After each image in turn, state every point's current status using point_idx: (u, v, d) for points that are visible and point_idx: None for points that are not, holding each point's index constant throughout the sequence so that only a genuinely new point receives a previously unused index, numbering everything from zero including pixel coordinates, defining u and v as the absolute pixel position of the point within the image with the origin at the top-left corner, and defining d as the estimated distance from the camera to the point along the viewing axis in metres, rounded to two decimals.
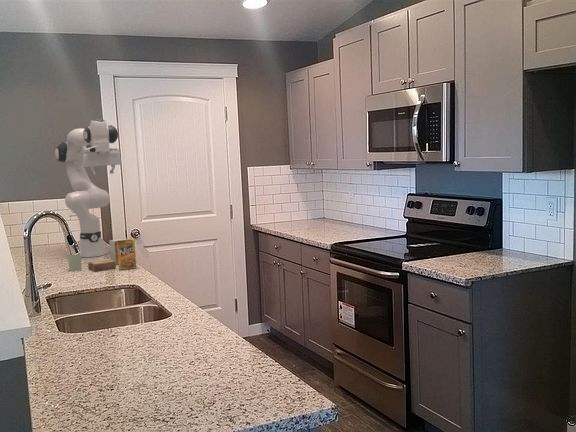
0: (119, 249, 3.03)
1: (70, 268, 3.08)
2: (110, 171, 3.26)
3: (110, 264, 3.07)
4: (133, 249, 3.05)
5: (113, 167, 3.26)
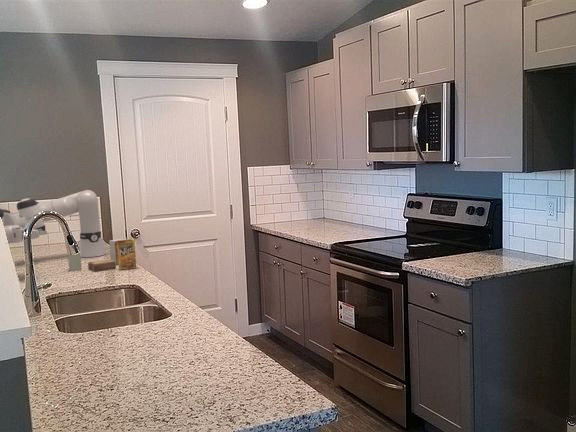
0: (119, 249, 3.03)
1: (70, 268, 3.08)
2: (39, 231, 3.03)
3: (110, 264, 3.07)
4: (133, 249, 3.05)
5: (34, 229, 3.03)
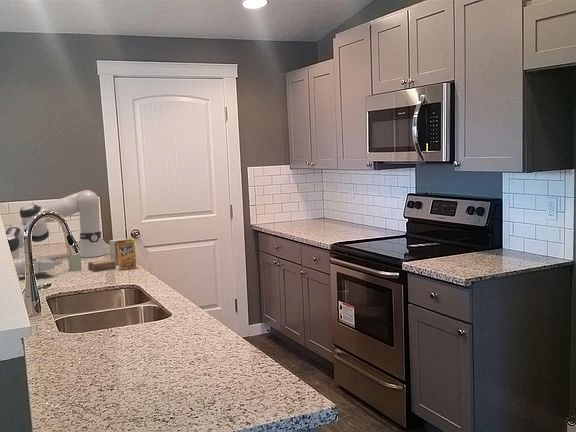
0: (119, 249, 3.03)
1: (70, 268, 3.08)
2: (53, 260, 3.06)
3: (110, 264, 3.07)
4: (133, 249, 3.05)
5: (48, 259, 3.06)
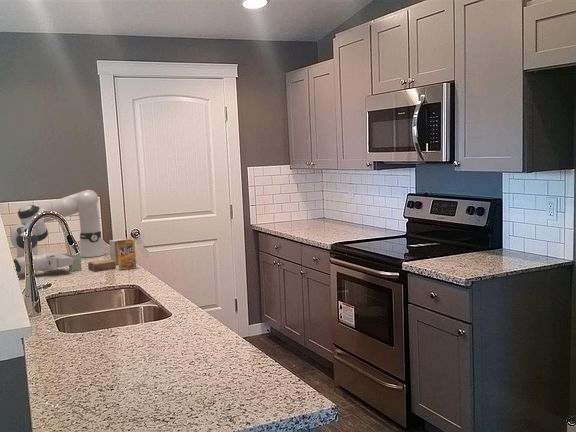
0: (119, 249, 3.03)
1: (70, 268, 3.08)
2: None
3: (110, 264, 3.07)
4: (133, 249, 3.05)
5: (67, 256, 3.11)
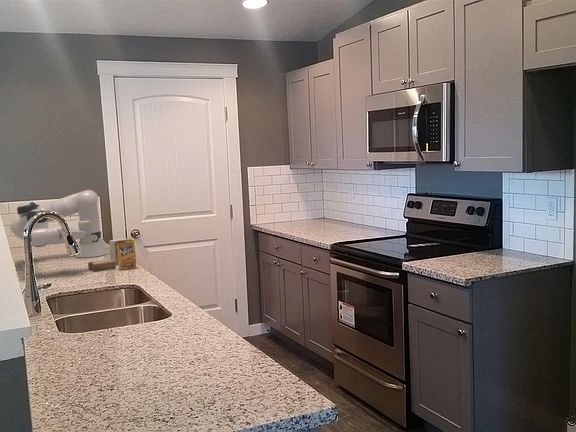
0: (119, 249, 3.03)
1: (81, 242, 3.06)
2: None
3: (110, 264, 3.07)
4: (133, 249, 3.05)
5: None
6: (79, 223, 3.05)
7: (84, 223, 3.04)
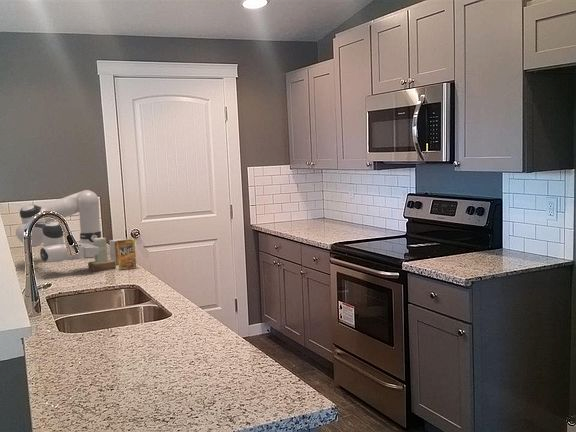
0: (119, 249, 3.03)
1: (96, 259, 3.07)
2: None
3: (110, 264, 3.07)
4: (133, 249, 3.05)
5: None
6: (94, 240, 3.06)
7: (99, 240, 3.05)
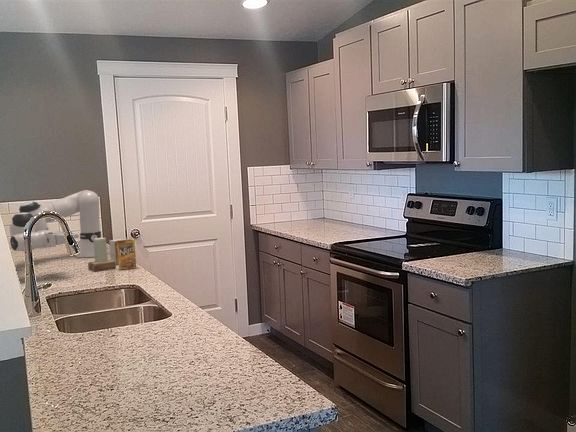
0: (119, 249, 3.03)
1: (96, 259, 3.07)
2: None
3: (110, 264, 3.07)
4: (133, 249, 3.05)
5: None
6: (94, 240, 3.06)
7: (99, 240, 3.05)
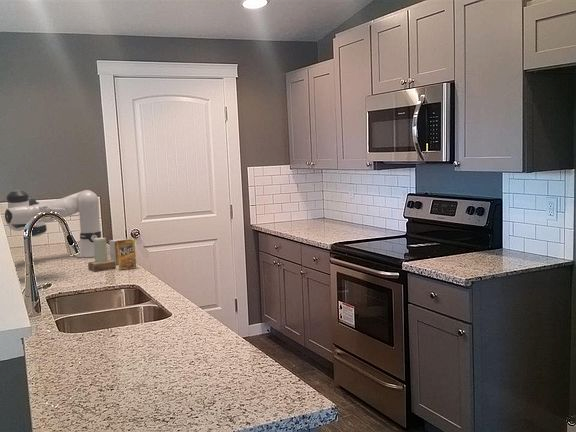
0: (119, 249, 3.03)
1: (96, 259, 3.07)
2: None
3: (110, 264, 3.07)
4: (133, 249, 3.05)
5: None
6: (94, 240, 3.06)
7: (99, 240, 3.05)
